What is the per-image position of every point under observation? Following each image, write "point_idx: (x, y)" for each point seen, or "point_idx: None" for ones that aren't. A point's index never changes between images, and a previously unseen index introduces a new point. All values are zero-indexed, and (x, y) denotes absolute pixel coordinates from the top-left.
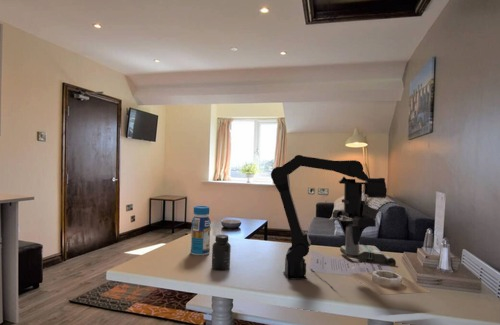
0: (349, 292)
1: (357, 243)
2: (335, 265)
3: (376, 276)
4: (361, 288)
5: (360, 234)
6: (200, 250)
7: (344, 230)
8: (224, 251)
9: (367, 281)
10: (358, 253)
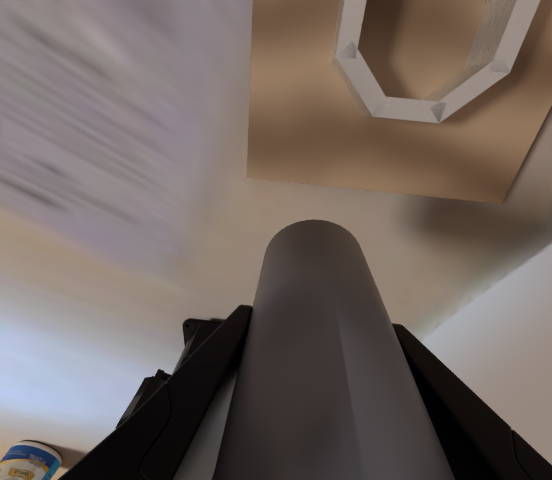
0: (390, 262)
1: (409, 338)
2: (82, 136)
3: (416, 120)
4: (378, 196)
5: (529, 461)
6: (51, 471)
7: (209, 477)
8: None
9: (362, 147)
10: (359, 246)
